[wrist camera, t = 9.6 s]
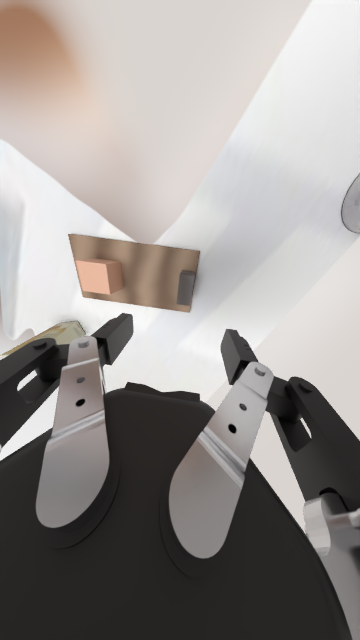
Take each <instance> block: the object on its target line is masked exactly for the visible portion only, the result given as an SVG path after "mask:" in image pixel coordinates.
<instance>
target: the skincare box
mask: <svg viewBox="0 0 360 640" xmlns="http://www.w3.org/2000/svg"><path fill="white" fill-rule="evenodd" d="M84 335H85V333H84V331H83V330H82V328H81V326H80V325H79V323H78V321H73V322H65V323H59V324H57V325H55V326H53V327H51V328H49V329H48V330H46V331H44V332H42V333H40V334H38V335H37V336H35V337H33V338H31V339H29V340H28V341H26V342H24V343H22V344H20V345H18V346H17V347H15V348H13V349H12V350H10V351H8V352H6V353H4V354H2V355H0V357H1V358H5V357H7V356H8V355H10V354H12V353H13V352H15V351H16V350H18V349H20V348H21V347H23V346H25V345H26V344H28V343H30V342H32V341H34V340H37V339H41V338H53V339H55V340H56V342H57V345H61V344H70V343H71V342H72V341H74V340H75V339H77V338H80V337H83V336H84ZM33 371H34V370H33Z"/></svg>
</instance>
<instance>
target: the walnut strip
mask: <svg viewBox="0 0 360 640" xmlns="http://www.w3.org/2000/svg"><path fill="white" fill-rule="evenodd" d="M68 236H69V240H70V245H71V249H72V253H73V257H74V262H75V266H76V270H77V274H78V278H79V283H80V287H81V291H82V295H83V297H85V298H92V299H99V300H106V301H113V302H120V303H127V304H134V305H141V306H148V307H154V308H161V309H168V310H175V311H182V312H189V313H190V307H191V301H192V295H193V289H194V283H195V277H196V271H197V264H198V258H199V252H200V251H194V250H187V249H179V248H171V247H164V246H156V245H148V244H141V243H133V242H126V241H118V240H111V239H103V238H95V237H88V236H80V235H73V234H68ZM94 258H97V259H104V260H112V261H119V262H121V267H122V279H123V288H122V289H120V290H118V291H116V292H114V293H112V294H111V295H108V294H101V293H94V292H88V291H83V290H82V286H81V282H80V277H79V273H78V269H77V265H76V260H83V259H94Z"/></svg>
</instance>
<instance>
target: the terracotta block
mask: <svg viewBox="0 0 360 640" xmlns="http://www.w3.org/2000/svg"><path fill="white" fill-rule="evenodd" d="M76 265H77V269H78V273H79V277H80V282H81V286H82V290H83V291H88V292H94V293H101V294H108V295H111V294H112V293H114V292H116V291H118V290H120V289H122V288H123V279H122V267H121V262H119V261H112V260H104V259H97V258H94V259H83V260H76Z"/></svg>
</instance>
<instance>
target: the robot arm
mask: <svg viewBox="0 0 360 640" xmlns="http://www.w3.org/2000/svg"><path fill="white" fill-rule="evenodd" d="M342 217H343V222H344V224H345V226H346V227H347V228H348V229H349V230H351V231H353V232H357V233H360V175H359V176H358V177H357V179H356V180H355V181H354V183H353V184H352V186H351V188H350V189H349V191H348V193H347V195H346V198H345V200H344V204H343V209H342ZM132 335H133V317H132V315H131V314H125V313H122V314H121V315H119V316H118V317H117V318H114V319H111V320H109V321H108V322H107V323H106V324H104V325H103V326H102V327H101V328H100V329H98V330H97V331H96V332H95V333H94V334H92V335H91V336H84V337H80V338H77V339H75V340H74V341H72V342H71V343H70V344H61V345H57V342H56V340H55V339H53V338H41V339H37V340H34V341H32V342H30V343H28V344H26V345H25V346H23V347H21V348H20V349H18V350H16V351H15V352H13V353H12V354H10V355H8V356H7V357H5V358H3V359H2V360H0V452H1V448H2V447H3V446H4V445H5V444H6V443H7V442H8V441H9V440H10V439H11V437H12V436H13V435H14V434H15V433H16V432H17V431H18V430H19V429H20V428H21V427H22V425H23V424H24V423H25V422H26V421H27V420H28V419H29V418H30V417H31V415H32V414H33V413H34V412H35V411H36V410H37V409H38V408H39V407H40V406H41V405H42V404H43V402H44V401H45V400H46V399H47V398H48V397H49V396H50V395H51V394H52V393H53V392H54V391H55V389H56V388H57V387H58V386H59V392H58V398H57V404H56V411H55V417H54V425H53V427H52V428H51V429H49V430H48V431H46V432H45V433H43V434H42V435H40V436H39V437H37V438H35V439H34V440H32V441H31V442H30V443H28V444H26V445H25V446H23V447H21V448H20V449H18V450H17V451H15V452H14V453H12V454H10V455H9V456H7V457H6V458H4V459H3V460H1V461H0V640H360V441H359V439H357V437H356V436H355V435H354V433H353V432H352V431H351V430H350V428H349V427H348V426H347V425H346V424H345V422H344V421H343V420H342V419H341V417H340V416H339V415H338V414H337V413H336V411H335V410H334V409H333V408H332V406H331V405H330V404H329V403H328V401H327V400H326V399H325V398H324V397H323V395H322V394H321V393H320V392H319V390H318V389H317V388H316V387H315V386H314V385H312V384H311V383H309V382H308V381H306V380H304V379H302V378H299V377H291V378H290V379H289V381H285V380H283V379H280V378H278V377H275V376H274V375H273V373H272V371H271V370H270V369H269V368H268V367H266V366H265V365H263V364H261V363H259V362H258V360H257V358H256V356H255V355H254V353H253V351H252V349H251V348H250V347H249V344H248V342H247V341H246V340H245V339H244V338H243V337H240V336H239V334H238V332H237V330H232V329H226V331H225V334H224V337H223V340H222V343H221V353H222V357H223V361H224V365H225V369H226V373H227V377H228V381H229V384H230V385H233V387H232V388H231V389H230V391H229V393H228V394H227V396H226V397H225V399H224V400H223V402H222V403H221V405H220V406H219V408H218V409H217V411H215V410H214V409H213V408H211V407H210V406H209V405H208V404H206V403H204V402H203V401H200V394H197V393H191V392H185V391H175V392H160V391H158V390H155V389H153V388H151V387H149V386H146V385H143V384H137V383H131V382H127V384H126V386H125V388H120V389H116V390H113V391H110V392H108V393H107V392H106V385H105V379H104V372H103V366H104V365H105V364H107V365H112V364H113V362H114V361H115V359H116V358H117V357H118V355H119V354H120V352H121V351H122V350H123V348H124V347H125V345H126V344H127V343H128V341H129V340H130V339H131V337H132ZM33 370H35V371H36V373H37V376H35V377H34V378H33V379H32V380H31V381H30V382H29V383H27V384H26V385H25V386H24V387H23V388H22V389H20V390H19V391H17V386H18V384H19V382H20V381H21V380H22V379H23V378H25V377H26V376H27V375H28V374H30V373H31V372H32V371H33ZM265 411H267V412H269V413H270V415H271V417H272V419H273V422H274V425H275V427H276V430H277V432H278V434H279V437H280V440H281V442H282V444H283V447H284V449H285V451H286V454H287V457H288V459H289V462H290V464H291V467H292V469H293V472H294V474H295V476H296V479H297V481H298V484H299V487H300V489H301V491H302V494H303V497H304V499H305V502H306V503H305V504H304V508H303V514H304V520H305V523H306V524H305V532H306V534H305V533H304V531H303V530H302V529H301V527H300V526H299V524H298V523H297V522H296V520H295V519H294V518H293V516H292V515H291V513H290V512H289V511H288V509H287V508H286V507H285V505H284V504H283V503H282V501H281V500H280V498H279V497H278V496H277V494H276V493H275V492H274V490H273V489H272V488H271V486H270V485H269V483H268V482H267V480H266V479H265V478H264V477H263V475H262V474H261V472H260V471H259V470H258V468H257V467H256V466H255V464H254V463H253V461H252V460H251V459H250V454H251V451H252V448H253V444H254V442H255V439H256V436H257V433H258V430H259V427H260V424H261V421H262V418H263V415H264V412H265ZM301 418H303V419H304V421H305V423H306V424H307V426H308V428H309V429H310V432H311V438H310V436H309V434H308V433H307V431H306V429H305V427H304V425H303V424H302V422H301V420H300V419H301ZM306 535H307V536H306Z"/></svg>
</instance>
